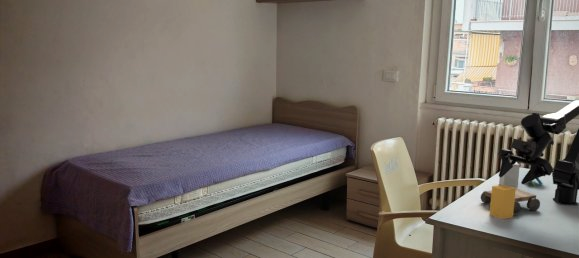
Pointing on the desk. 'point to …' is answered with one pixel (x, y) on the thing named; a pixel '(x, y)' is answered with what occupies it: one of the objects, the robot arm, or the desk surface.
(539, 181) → the blue angled frame
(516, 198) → the dolly
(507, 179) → the small box
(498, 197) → the yellow upright rectangular block
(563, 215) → the desk surface
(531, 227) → the desk surface
